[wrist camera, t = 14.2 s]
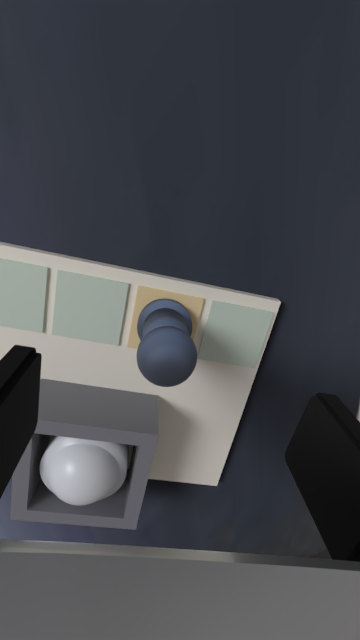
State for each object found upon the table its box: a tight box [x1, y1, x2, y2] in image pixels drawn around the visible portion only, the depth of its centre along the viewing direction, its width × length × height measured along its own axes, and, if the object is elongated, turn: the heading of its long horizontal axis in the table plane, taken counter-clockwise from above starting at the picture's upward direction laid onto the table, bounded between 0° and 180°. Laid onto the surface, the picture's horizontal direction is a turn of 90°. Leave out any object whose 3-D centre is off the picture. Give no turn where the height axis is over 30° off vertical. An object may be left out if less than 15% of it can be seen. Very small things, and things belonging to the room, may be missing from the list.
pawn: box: [137, 298, 197, 387], centre depth 17 cm, size 4×4×6 cm
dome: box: [40, 435, 129, 506], centre depth 20 cm, size 6×6×5 cm
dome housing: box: [10, 378, 159, 530], centre depth 21 cm, size 8×8×4 cm
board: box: [0, 242, 281, 486], centre depth 22 cm, size 17×25×1 cm
